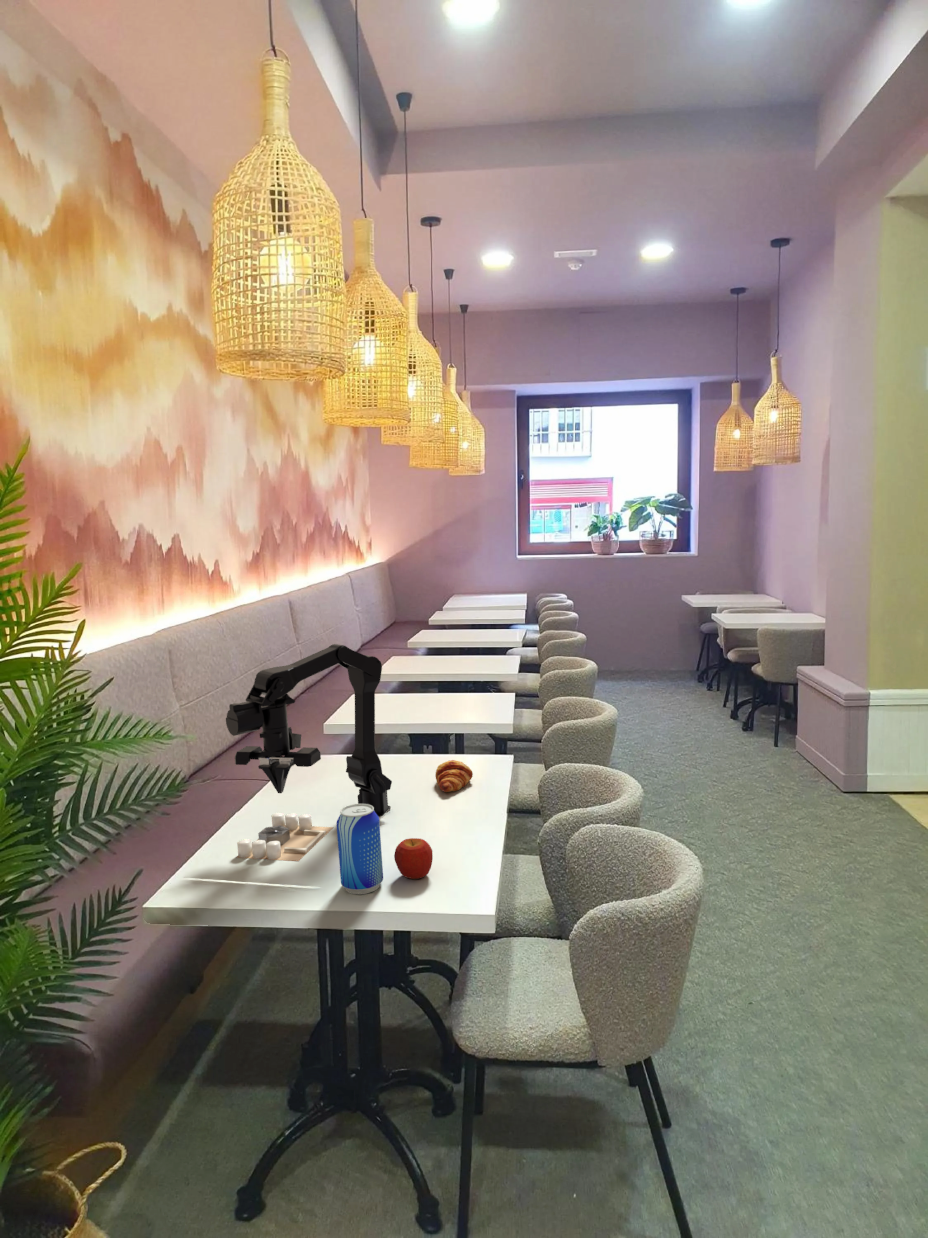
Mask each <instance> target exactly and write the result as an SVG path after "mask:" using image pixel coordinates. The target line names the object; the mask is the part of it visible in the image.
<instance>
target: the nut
mask: <svg viewBox="0 0 928 1238" xmlns="http://www.w3.org/2000/svg"><path fill="white" fill-rule="evenodd" d="M257 834H258V839H259V840H265V841H266V844H267V843H268V842H270V841H279V842H280V845H284V844H285V843H286V842H287V841H288V840H289V839H290V832H289V828H286V827H284V826H281V825H279V826H273V827H272V826H268V827H267V826H266V827H265V828H263V829H262V830H261V831H259V832H258V833H257Z"/></svg>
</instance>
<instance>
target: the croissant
mask: <svg viewBox="0 0 928 1238" xmlns="http://www.w3.org/2000/svg"><path fill="white" fill-rule="evenodd" d="M473 775H474V773H473V770H472V769H471V768H470V767H469V766H468V765H467V764H465V762H463V761H460V760H455V759H452V760H448V761H445V762H442V763H441V764H439V765H438V766H437V768H436V770H435V780H436V783H437V786H438V787H439V790H441V791H442V792H444V793H450V792H456V791H460V790H461V789H462V788H464V787H465V786H467V784H468V783H469V782H470V781H471V780H472V778H473Z"/></svg>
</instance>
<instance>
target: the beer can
mask: <svg viewBox="0 0 928 1238" xmlns="http://www.w3.org/2000/svg"><path fill="white" fill-rule="evenodd" d="M339 813H340V814H339V816H338V818H337V819H336V824H335V825H336V834H337V836H336V837H337V838H336V839H337V850H338V851H337V852H338V864H339V874H340V884H341V886H342V887H343V888H344V890H345V891H346V892H348V894H352V895H365V894H370V893H372V892H375V891H376V890H378V889H379V888H380V886H381V884H382V882H383V880H384V871H383V867H384V866H383V855H382V853H383V852H382V842H381V841H382V840H381V827H380V826H381V824H380V823H381V822H380V816H378V815H377V814H376V813H375V811H374V807H373V806H371V805H369V804H358V803H353V804H350V805H346V806H344V807H342V808H341V809H340V812H339Z"/></svg>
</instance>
